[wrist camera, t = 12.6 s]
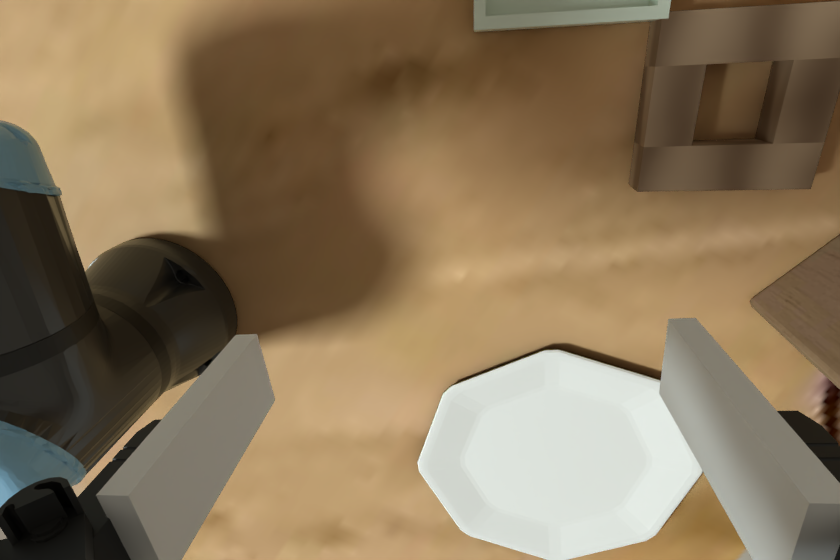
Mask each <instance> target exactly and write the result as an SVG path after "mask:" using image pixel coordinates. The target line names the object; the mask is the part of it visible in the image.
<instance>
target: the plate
mask: <svg viewBox="0 0 840 560" xmlns="http://www.w3.org/2000/svg"><path fill="white" fill-rule="evenodd" d="M660 382H661V380H660V379H657V378H654V377H650V376H647V375H644V374H640V373H637V372H634V371H630V370H627V369H624V368H621V367H617V366H614V365H611V364H607V363H604V362H601V361H598V360H594V359H591V358H588V357H584V356H581V355H578V354H574V353H571V352H568V351H565V350H561V349H544V350H541V351H539V352H536V353H534V354H531V355H528V356H526V357H523V358H520V359H518V360H515V361H513V362H510V363H507V364H505V365H502V366H500V367H497V368H494V369H492V370H489V371H487V372H484V373H481V374H479V375H476V376H474V377H471V378H468V379H466V380H463V381H460V382H458V383H455V384H453V385H451V386H450V387H449V388H448V389H447V390H446V391H445V392H443V395H442V397H441V400H440V403H439V406H438V408H437V411H436V414H435V416H434V419H433V422H432V424H431V427H430V430H429V433H428V435H427V438H426V441H425V443H424V446H423V449H422V451H421V454H420V457H419V459H418V468H419V472H420V473H421V475H422V476H423V478H424V479H425V481H426V482H427V483H428V485H429V486H430V488H431V489H432V490H433V492H434V493H435V495H436V496H437V497H438V499H439V500H440V502H441V503H442V504H443V506H444V507H445V509H446V510H447V512H448V513H449V514H450V516H451V517H452V519H453V520H454V521H455V523H456V524H457V526H458V527H459V528H460V530H461V531H463V532H464V533H466V534H467V535H469V536H471V537H475V538H478V539H481V540H485V541H488V542H491V543H494V544H498V545H501V546H504V547H508V548H511V549H514V550H517V551H521V552H524V553H527V554H531V555H534V556H537V557H540V558H544V559H547V560H567V559H571V558H575V557H580V556H584V555H588V554H592V553H597V552H601V551H605V550H609V549H613V548H618V547H622V546H626V545H630V544H635V543H639V542H643V541H646V540H648V539H650V538H652V537H653V536H655V535H656V534H657V533H658V531H659V530H660V529H661V527H662V526H663V525H664V523H665V522H666V521H667V519H668V518H669V517H670V515H671V514H672V513H673V511H674V510H675V509H676V507H677V506H678V505H679V503H680V502H681V501H682V499H683V498H684V497H685V495H686V494H687V493H688V491H689V490H690V489H691V487H692V486H693V485H694V483H695V482H696V481H697V479H698V478H699V477H700V475H701V474H702V473H703V471H702V469H701V467H700V465H699V463H698V462H697V460H696V458H695V456H694V455H693V453H692V451H691V449H690V447H689V446H688V444H687V442H686V440H685V439H684V437H683V435H682V433H681V431H680V430H679V428H678V426H677V424H676V423H675V421H674V419H673V417H672V415H671V414H670V412H669V410H668V408H667V407H666V405H665V403H664V401H663V399H662V398H661V396H660V394H659V390H660Z"/></svg>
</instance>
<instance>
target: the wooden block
mask: <svg viewBox="0 0 840 560" xmlns="http://www.w3.org/2000/svg"><path fill="white" fill-rule="evenodd" d="M750 303H751V306H752V307H753V308H754V309H755V310H756V311H757V312H758V313H759V314H760V315H761V316H762V317H763V318H764V319H765V320H766V321H768V322H769V323H770V324H771V325H772V326H773V327H774V328H775V329H776V330H777V331H778V332H779V333H780V334H781V335H782V336H783V337H785V338H786V339H787V340H788V341H789V342H790V343H791V344H792V345H793V346H794V347H795V348H796V349H797V350H798V351H799V352H800V353H801V354H803V355H804V356H805V357H806V358H807V359H808V360H809V361H810V362H811V363H812V364H813V365H814V366H815V367H816V368H817V369H819V370H820V371H821V372H822V373H823V374H824V375H825V376H826V377H827V378H828V379H829V380H830V381H831V382H833V383H834V384H835V385H836V386H837V387H838V388H839V389H840V235H839V236H837V237H836V238H834V239H833V240H832V241H830V242H829V243H828V244H826V245H825V246H823V247H822V248H821V249H819V250H818V251H817V252H815V253H814V254H812V255H811V256H810V257H808V258H807V259H805V260H804V261H803V262H801V263H800V264H799V265H797V266H796V267H794V268H793V269H792V270H790V271H789V272H788V273H786V274H785V275H783V276H782V277H781V278H779V279H778V280H776V281H775V282H774V283H772V284H771V285H770V286H768V287H767V288H765V289H764V290H763V291H761V292H760V293H759V294H757V295H756V296H754V297H753V298H752V299H751V300H750Z"/></svg>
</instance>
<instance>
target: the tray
mask: <svg viewBox="0 0 840 560" xmlns="http://www.w3.org/2000/svg"><path fill="white" fill-rule="evenodd" d="M670 4H671V0H474V32H487V31H503V30H520V29H537V28H553V27H570V26H587V25H603V24H620V23H637V22H651V21H655V20H659V19H667V18H669V11H670Z"/></svg>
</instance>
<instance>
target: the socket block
mask: <svg viewBox="0 0 840 560" xmlns="http://www.w3.org/2000/svg"><path fill="white" fill-rule="evenodd" d="M763 61H773V64H772V69H771V73H770V77H769V81H768V86H767V90H766V94H765V98H764V103H763V107H762V111H761V116H760V120H759V124H758V128H757V133H756V137H755V139H726V140H693V136H694V131H695V125H696V120H697V115H698V109H699V104H700V98H701V93H702V87H703V82H704V76H705V71H706V65H707V64H722V63H743V62H763ZM839 91H840V1H830V2H814V3H797V4H781V5H765V6H749V7H733V8H717V9H701V10H685V11H669V18H667V19H659V20H655V21H651V22H650V28H649V35H648V43H647V50H646V58H645V65H644V73H643V80H642V88H641V95H640V103H639V110H638V118H637V125H636V133H635V140H634V148H633V155H632V163H631V170H630V178H629V185H630V186H632V187H633V188H634V189H635V190H636V191H637V192H643V191H711V190H779V189H811V187H812V183H813V180H814V176H815V173H816V169H817V166H818V163H819V159H820V156H821V152H822V149H823V146H824V142H825V139H826V135H827V132H828V128H829V125H830V122H831V118H832V115H833V111H834V108H835V105H836V101H837V98H838V94H839Z"/></svg>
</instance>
